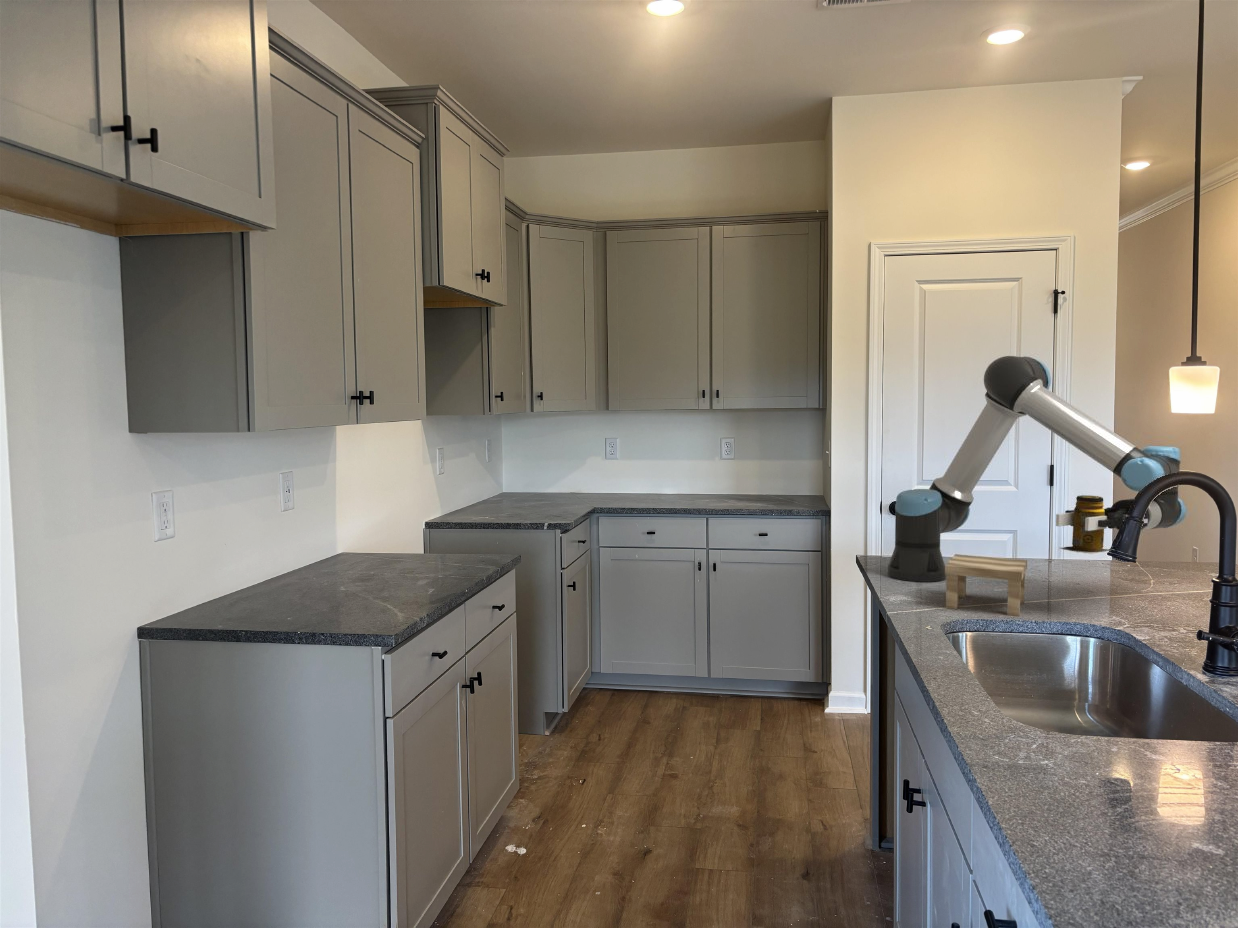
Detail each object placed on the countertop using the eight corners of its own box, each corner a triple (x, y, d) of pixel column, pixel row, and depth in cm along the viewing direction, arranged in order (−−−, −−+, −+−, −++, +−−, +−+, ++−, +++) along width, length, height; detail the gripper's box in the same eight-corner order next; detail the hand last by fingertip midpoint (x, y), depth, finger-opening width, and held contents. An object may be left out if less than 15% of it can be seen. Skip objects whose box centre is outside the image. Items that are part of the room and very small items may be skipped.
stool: (954, 593, 206) (955, 554, 206) (1025, 601, 198) (1026, 560, 198) (944, 607, 193) (945, 565, 192) (1020, 616, 185) (1021, 572, 184)
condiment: (1111, 550, 184) (1114, 496, 183) (1091, 554, 179) (1093, 499, 178) (1078, 545, 190) (1080, 493, 189) (1058, 549, 185) (1060, 496, 184)
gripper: (1176, 537, 184) (1114, 546, 173) (1093, 525, 201) (1031, 532, 190) (1178, 503, 184) (1116, 510, 173) (1094, 494, 200) (1033, 500, 190)
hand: (1072, 522), depth 181 cm, fingers closed on condiment, 6 cm apart
